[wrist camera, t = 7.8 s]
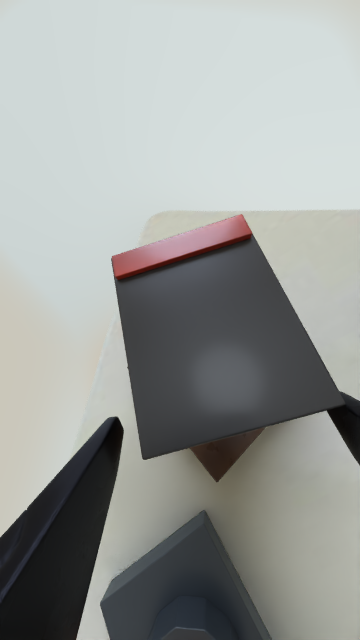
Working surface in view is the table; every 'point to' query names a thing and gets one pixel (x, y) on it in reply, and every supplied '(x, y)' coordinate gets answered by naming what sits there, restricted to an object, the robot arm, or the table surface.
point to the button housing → (182, 592)
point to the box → (213, 340)
